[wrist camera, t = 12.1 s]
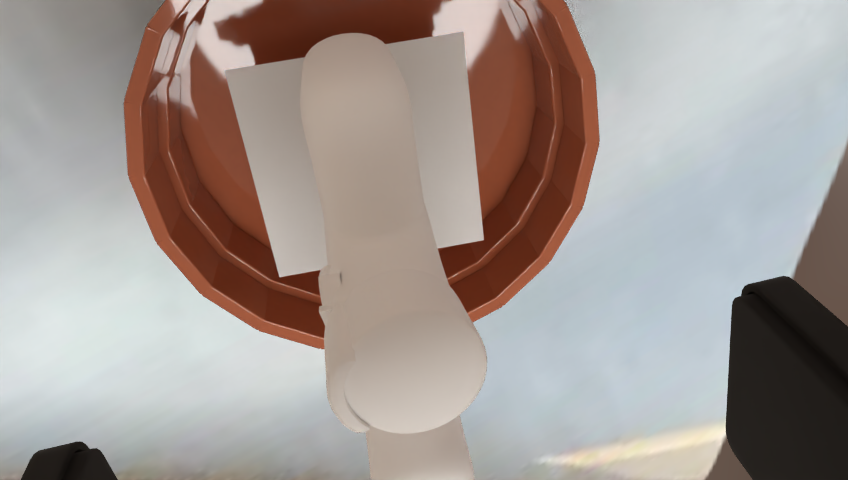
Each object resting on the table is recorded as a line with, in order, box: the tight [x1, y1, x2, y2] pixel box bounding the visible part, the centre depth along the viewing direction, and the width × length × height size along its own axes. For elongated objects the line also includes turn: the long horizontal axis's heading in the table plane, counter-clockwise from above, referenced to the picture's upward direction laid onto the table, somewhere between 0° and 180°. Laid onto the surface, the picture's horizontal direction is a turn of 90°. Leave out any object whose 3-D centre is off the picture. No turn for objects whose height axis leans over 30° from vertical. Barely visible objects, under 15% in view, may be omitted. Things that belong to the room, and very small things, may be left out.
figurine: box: [224, 32, 487, 480], centre depth 19 cm, size 7×9×15 cm
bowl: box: [124, 0, 599, 349], centre depth 24 cm, size 15×15×5 cm
